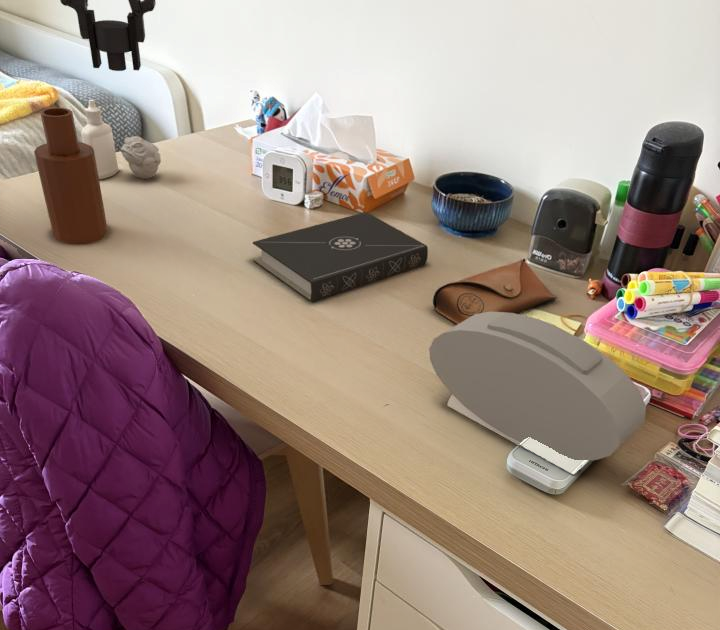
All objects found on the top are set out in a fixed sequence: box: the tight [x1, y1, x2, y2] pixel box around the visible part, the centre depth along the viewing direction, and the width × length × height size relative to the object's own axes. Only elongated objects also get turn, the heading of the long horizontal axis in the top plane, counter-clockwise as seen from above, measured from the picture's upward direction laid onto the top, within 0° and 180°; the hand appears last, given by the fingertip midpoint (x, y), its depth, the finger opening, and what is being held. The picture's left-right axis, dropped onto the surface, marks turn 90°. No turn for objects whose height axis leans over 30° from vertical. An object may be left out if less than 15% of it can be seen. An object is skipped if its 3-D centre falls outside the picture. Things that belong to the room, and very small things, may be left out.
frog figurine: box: [120, 135, 162, 179], centre depth 124 cm, size 6×7×7 cm
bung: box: [94, 19, 131, 72], centre depth 100 cm, size 5×5×6 cm
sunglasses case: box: [432, 258, 558, 326], centre depth 100 cm, size 18×7×7 cm
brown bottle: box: [33, 107, 108, 245], centre depth 103 cm, size 8×8×17 cm
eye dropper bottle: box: [80, 99, 119, 180], centre depth 122 cm, size 4×6×12 cm
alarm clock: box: [428, 312, 647, 461], centre depth 76 cm, size 23×6×13 cm, turn 48°
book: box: [252, 211, 429, 303], centre depth 106 cm, size 22×15×3 cm
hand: (117, 66), depth 102 cm, fingers closed on bung, 5 cm apart
